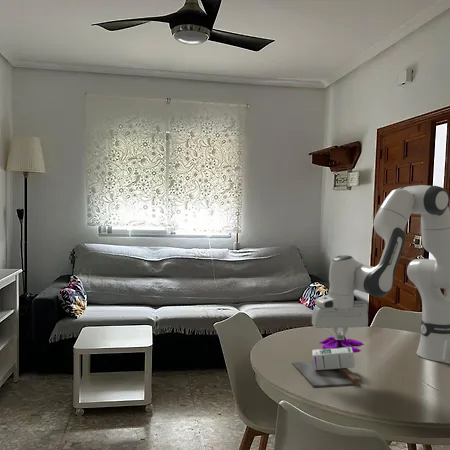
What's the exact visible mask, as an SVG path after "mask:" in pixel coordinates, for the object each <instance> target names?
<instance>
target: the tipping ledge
mask: <svg viewBox="0 0 450 450" xmlns="http://www.w3.org/2000/svg"><path fill="white" fill-rule="evenodd" d="M292 365H293V366H294V368H296V370H297V371H298V372H299V373H300V374H301V376H302V377H304V379H306V381H307V382H308V383H309V384H310V385H311V386H312V387H313V388H324V387H341V386H342V387H344V386H346V387H347V386H360V385H361V378H360V377H359V376H357V375H356V374H355V373H354V372H352V371H351V370H349V369H350V368H339V369H325V370H315V369H314V365H313V361H296V362H295V361H293V362H292Z"/></svg>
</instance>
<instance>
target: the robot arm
mask: <svg viewBox="0 0 450 450" xmlns="http://www.w3.org/2000/svg"><path fill="white" fill-rule="evenodd" d="M381 203H382V204H381V205H380V206H379V209H378V210H377V212H376V215H374V219H373V222H372V223H373V225H372V226H373V229H374V231H375V233H376V234H377V235H378V236H379V237H380V238H381V239H382V240H384V243H385V244H384V249H383V251H382V253H381V257H380V259H379V262H378V264H377V265H376V266H372V265H371V266H370V265H367V264H364V263H362V262H359V261H357V260H356V259H355V258H354V257H353V256H351V255H348V254H347V255H337V256H334V257H333V258H332V259H331V261H330V263H329V264H330V265H329V272H328V281H329V282H328V283H329V289H328V293H327V294H326V295H324V296H321V297H317V298H315V301H314V304H315V306H314V307H313V310H312V314H311V324H312V327H315V328H316V329H331V330H332V332H333V334H334V337H335V339H336V340H344V335H345V336H346V334H347V332H348V328H366V327H368V324H369V315H368V310H369V306H368V303H367V302H366V301H364V300H355V299H354V298H355V295H354V294H355V291H359V292H362V293H365V294H368V295H370V296H372V297H375V298H384V297H385V296H387V295H388V294H389V293H390V292H392V289H393V286H394V282H395V281H394V280H395V276H396V271H397V267H398V264H399V262H400V259H401V255H402V252H403V250H404V247H405V244H406V239H407V238H406V232H405V229H406V225H407V224H408V221H409V220H410V216H411V214H414V215H420V228H421V229H420V230H421V245H422V247H423V249H424V250H426V252H428V253H430V254H431V255H432V256H433V258H434V259H430V258H418V259H417V258H416V259H413V260H411V261H410V262H409V264H408V265H407V267H406V268H407V269H406V275H407V277H408V279H409V280H410V281H411V283H413V285H414V286H415V288H416V289H417V290H418V293H419V295H420V298H421V305H422V307H421V310H422V311H421V314H422V315H421V317H422V318H421V320H420V338H419V343H418V346H417V350H416V353H415V354H417V355H418V356H419V357H421V358H422V359H423V358H424V359H427V360H430V361H435V362H440V363H445V364H450V299H449V298H448V297H446V296H445V295H444V294H443V293H442V291H441V289H444V290H445V289H446V290H450V208H449V203H450V195H449V193H448V192H447V189H445V188H444V187H442V186H438V185H425V184H418V185H403V186H401V187H397V188H396V189H393V190H391V191H390V193H389V194H388V195H387V196H386V197H385V198H384V201H383V202H381ZM339 329H341V332H340V333H341V334H339V333H338V331H339Z"/></svg>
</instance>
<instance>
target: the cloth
mask: <svg viewBox="0 0 450 450" xmlns="http://www.w3.org/2000/svg"><path fill="white" fill-rule="evenodd" d="M338 334H341V332H339V333H338ZM318 343H319V344H321V345H322V349H329V348H342V347H352V350H353V353H356V352H358V353H359V352H361V351H362V350H361V349H359V348H357V347H355V346H358V347H359V346H364V343H363V342H362V341H360V340H356V339H352V338H346V334H345V335H344V340H336V339H335V336H329V337H326V338H325V339H324V340H321V341H319V342H318Z"/></svg>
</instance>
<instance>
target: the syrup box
mask: <svg viewBox="0 0 450 450" xmlns="http://www.w3.org/2000/svg"><path fill="white" fill-rule="evenodd" d="M311 353H312V362H313V365H314V369H315V370H325V369H339V368H347V369H350V368H351V369H352V368H355V367H356V366H355V357H354V355H355V354H354V352H353V350H352V347H341V348H329V349H324V348H319V349H318V348H317V349H312V352H311Z"/></svg>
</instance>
